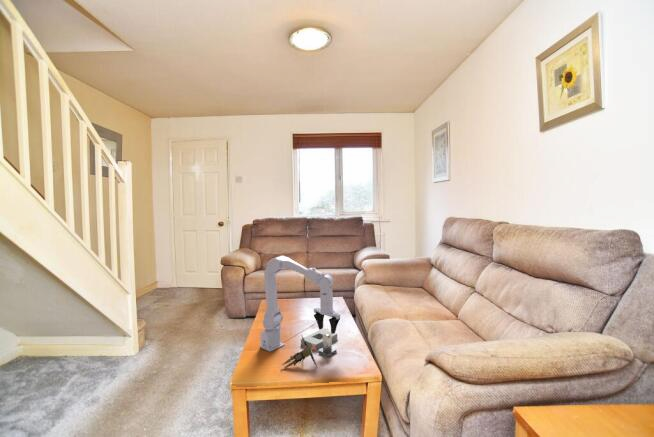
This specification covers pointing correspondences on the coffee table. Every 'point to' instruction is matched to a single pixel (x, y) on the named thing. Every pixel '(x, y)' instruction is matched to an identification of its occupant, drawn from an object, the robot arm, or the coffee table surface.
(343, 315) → the coffee table surface
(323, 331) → the hole board
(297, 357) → the samurai figurine
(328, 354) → the gray square base plate
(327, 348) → the metal peg
